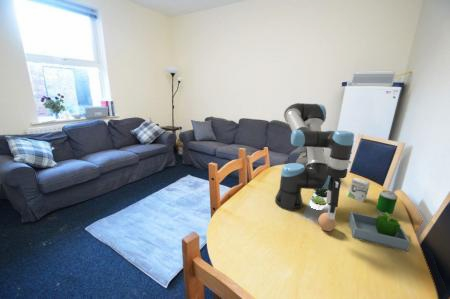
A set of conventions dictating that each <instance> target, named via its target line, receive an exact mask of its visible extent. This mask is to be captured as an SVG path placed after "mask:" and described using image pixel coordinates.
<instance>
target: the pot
mask: <svg viewBox="0 0 450 299" xmlns="http://www.w3.org/2000/svg"><path fill="white" fill-rule="evenodd" d="M324 151H325V150H324V148H323V153H324ZM299 154H300V155H299V156H298V158H297V159H296V160H295V163H298V164H302V165H304V167H305V166H306V164H307V163H308V155H307V147H305V150H302V151H300V152H299ZM324 162H325V163H326V160H325V159H324ZM305 168H306V167H305Z"/></svg>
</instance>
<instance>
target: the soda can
mask: <svg viewBox="0 0 450 299" xmlns="http://www.w3.org/2000/svg"><path fill="white" fill-rule="evenodd" d="M397 201H398V195H397V194H396V193H395V192H393V191H390V190H384V189H383V190H382V191H380V192H379V196H378V199H377V203H376V207H375V210H376V211H377V213H378V214H379V215H381V216H383V215H386V214H385V212H387V213H388V214H389V215H390V216H392V215H393V214H394V211H395V208H396V204H397ZM386 216H387V215H386Z"/></svg>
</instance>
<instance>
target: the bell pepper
mask: <svg viewBox="0 0 450 299" xmlns="http://www.w3.org/2000/svg"><path fill="white" fill-rule="evenodd" d="M385 214H386V215H387V216H386V215H382V214H379V215H378V216H377V220H376V229H377V231H378V233H379V234H383V235H387V236H392V237H394V236H395V235H396V234H397V232H398V231H399V229H400V226H401V224H400V223H399V221H398V220H397V219H396V218H391V215H389V214H388V213H387V212H385Z"/></svg>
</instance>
